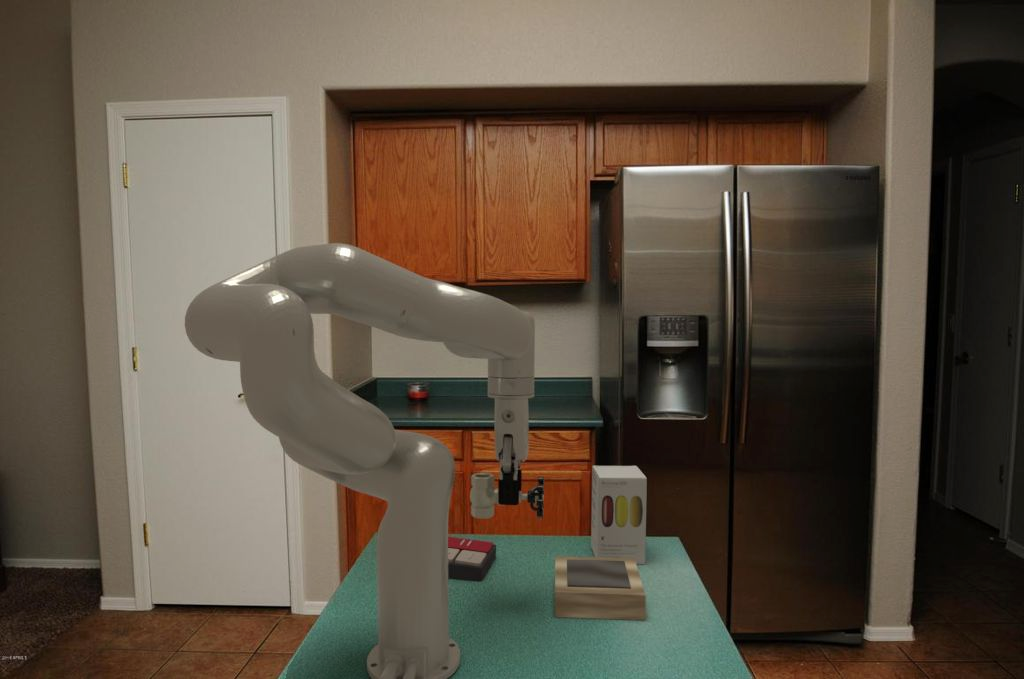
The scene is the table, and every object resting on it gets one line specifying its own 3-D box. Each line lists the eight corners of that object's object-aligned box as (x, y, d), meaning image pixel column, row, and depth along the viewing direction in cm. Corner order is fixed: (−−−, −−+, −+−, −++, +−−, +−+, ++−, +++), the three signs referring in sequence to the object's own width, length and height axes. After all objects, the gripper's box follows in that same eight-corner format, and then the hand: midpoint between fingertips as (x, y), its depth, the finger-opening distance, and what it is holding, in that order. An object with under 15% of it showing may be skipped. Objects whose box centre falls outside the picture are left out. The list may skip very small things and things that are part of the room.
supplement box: (596, 565, 115) (596, 477, 114) (589, 546, 125) (589, 464, 124) (647, 565, 115) (648, 476, 115) (636, 546, 125) (637, 464, 124)
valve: (466, 521, 97) (542, 524, 96) (466, 480, 97) (543, 482, 96) (472, 508, 103) (544, 511, 102) (473, 469, 103) (544, 472, 102)
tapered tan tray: (645, 620, 95) (645, 593, 95) (554, 617, 96) (554, 590, 96) (634, 580, 109) (634, 556, 109) (555, 577, 110) (555, 554, 110)
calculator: (482, 563, 108) (402, 552, 112) (481, 587, 109) (401, 575, 112) (497, 540, 119) (424, 531, 122) (496, 562, 119) (423, 552, 123)
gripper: (531, 394, 90) (530, 516, 91) (536, 382, 107) (535, 485, 108) (480, 393, 90) (480, 514, 91) (493, 381, 108) (493, 483, 108)
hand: (510, 497), depth 99 cm, fingers closed on valve, 5 cm apart
